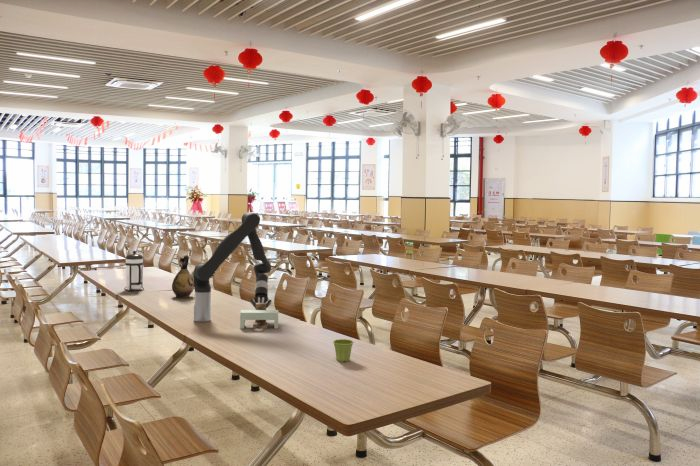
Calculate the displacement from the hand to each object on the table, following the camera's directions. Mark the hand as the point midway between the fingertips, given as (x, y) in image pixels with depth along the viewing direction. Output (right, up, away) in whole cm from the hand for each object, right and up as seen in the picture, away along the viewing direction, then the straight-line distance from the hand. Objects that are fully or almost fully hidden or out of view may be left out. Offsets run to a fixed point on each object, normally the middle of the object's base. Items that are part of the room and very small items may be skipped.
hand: (260, 314), depth 335 cm
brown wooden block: (+1, -6, -8) cm, 10 cm away
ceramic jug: (-68, +1, +77) cm, 102 cm away
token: (+2, -7, -18) cm, 19 cm away
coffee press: (-110, +4, +98) cm, 147 cm away
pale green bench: (+1, -6, -10) cm, 12 cm away
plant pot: (+49, -11, -71) cm, 87 cm away
